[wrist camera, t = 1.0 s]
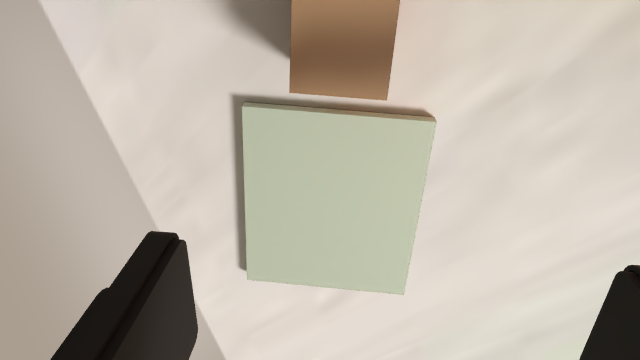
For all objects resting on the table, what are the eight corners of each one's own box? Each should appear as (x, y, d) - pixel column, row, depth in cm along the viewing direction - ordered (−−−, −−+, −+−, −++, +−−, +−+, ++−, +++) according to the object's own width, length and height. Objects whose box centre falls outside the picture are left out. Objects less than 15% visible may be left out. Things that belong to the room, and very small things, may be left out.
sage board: (244, 101, 29) (241, 106, 29) (434, 117, 29) (436, 122, 28) (249, 272, 36) (247, 279, 35) (402, 287, 36) (403, 295, 35)
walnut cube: (304, -23, 26) (292, -12, 21) (394, -17, 25) (400, -5, 21) (300, 66, 28) (289, 92, 24) (383, 72, 28) (386, 100, 23)
